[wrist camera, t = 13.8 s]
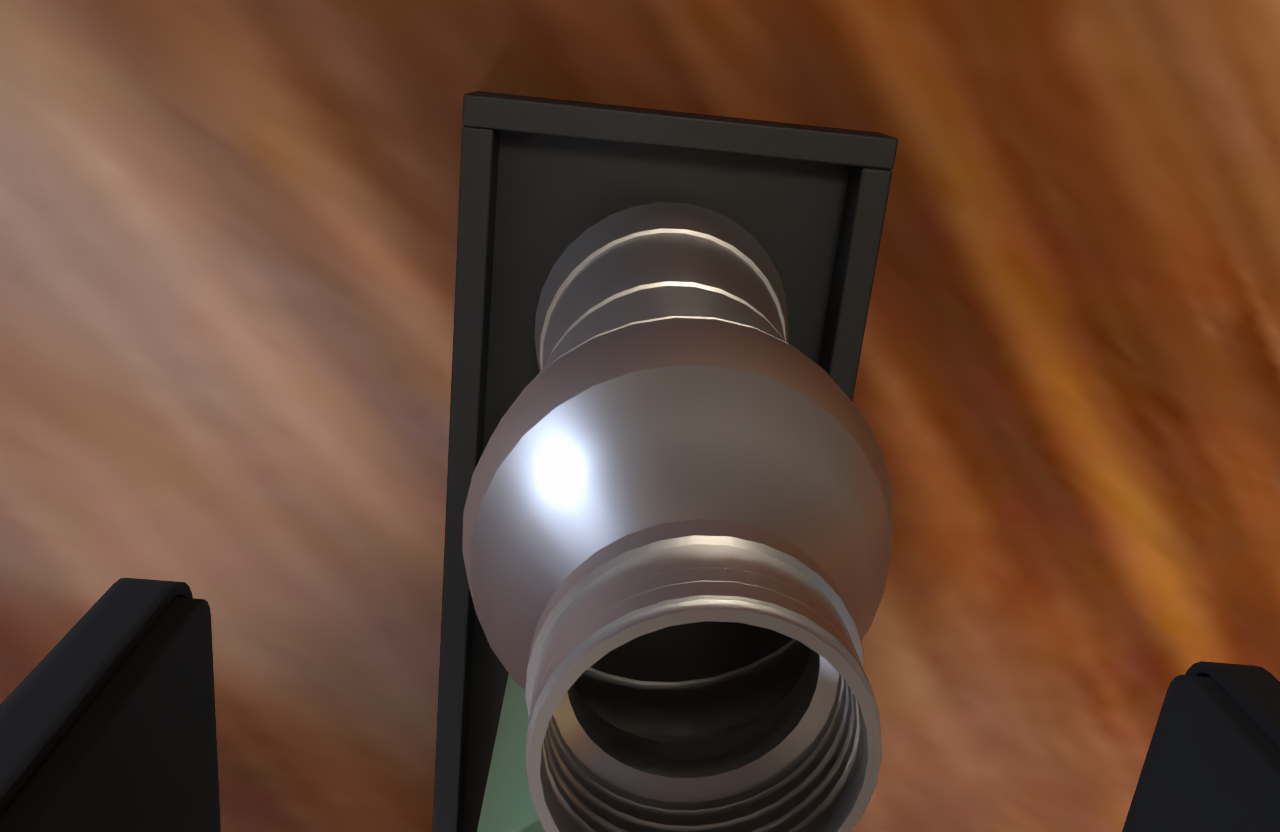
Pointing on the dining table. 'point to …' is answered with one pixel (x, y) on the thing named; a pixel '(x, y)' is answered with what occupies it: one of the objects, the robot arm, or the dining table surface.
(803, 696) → the silver metal bottle
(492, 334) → the tray
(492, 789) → the green bottle
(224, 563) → the dining table surface
